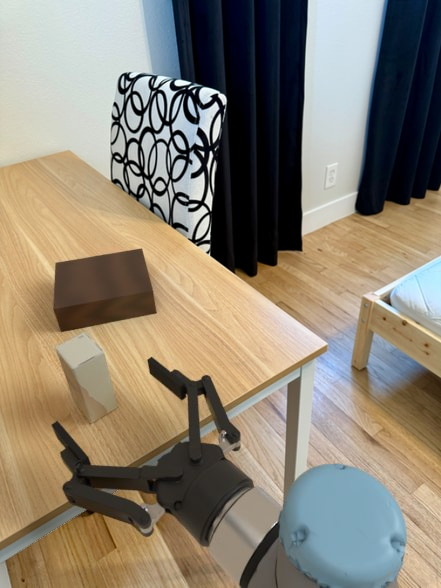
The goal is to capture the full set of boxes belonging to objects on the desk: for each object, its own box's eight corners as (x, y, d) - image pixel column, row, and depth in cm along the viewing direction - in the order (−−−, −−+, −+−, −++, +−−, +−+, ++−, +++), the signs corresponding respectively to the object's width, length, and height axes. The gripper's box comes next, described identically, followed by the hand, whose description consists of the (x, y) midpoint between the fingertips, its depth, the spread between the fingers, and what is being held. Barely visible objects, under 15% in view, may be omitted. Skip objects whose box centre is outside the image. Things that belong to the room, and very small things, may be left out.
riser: (61, 332, 71) (53, 309, 68) (62, 284, 82) (55, 262, 79) (156, 313, 74) (153, 290, 71) (145, 269, 85) (142, 248, 82)
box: (73, 402, 60) (52, 345, 53) (101, 385, 62) (84, 329, 55) (92, 426, 56) (71, 368, 50) (120, 407, 59) (104, 350, 52)
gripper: (132, 645, 36) (20, 481, 48) (305, 452, 50) (184, 361, 62) (116, 616, 32) (-3, 442, 44) (312, 413, 46) (180, 323, 58)
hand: (107, 395), depth 53 cm, fingers open, 13 cm apart
